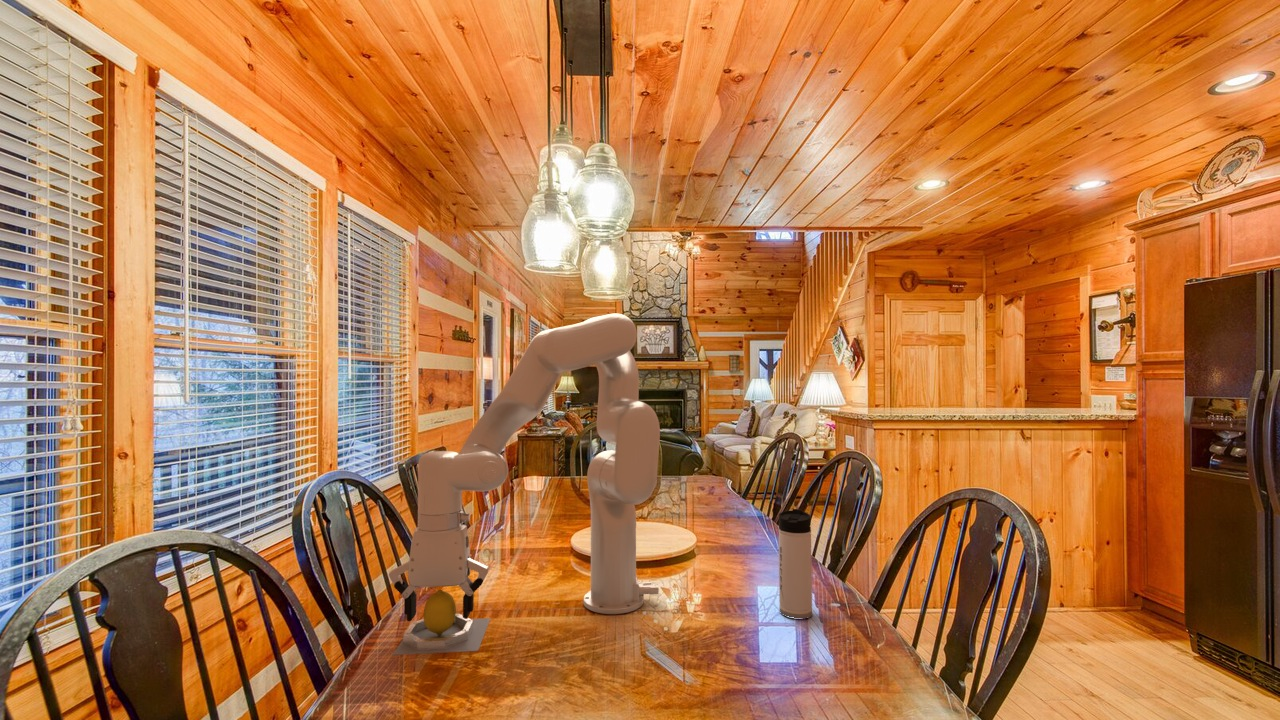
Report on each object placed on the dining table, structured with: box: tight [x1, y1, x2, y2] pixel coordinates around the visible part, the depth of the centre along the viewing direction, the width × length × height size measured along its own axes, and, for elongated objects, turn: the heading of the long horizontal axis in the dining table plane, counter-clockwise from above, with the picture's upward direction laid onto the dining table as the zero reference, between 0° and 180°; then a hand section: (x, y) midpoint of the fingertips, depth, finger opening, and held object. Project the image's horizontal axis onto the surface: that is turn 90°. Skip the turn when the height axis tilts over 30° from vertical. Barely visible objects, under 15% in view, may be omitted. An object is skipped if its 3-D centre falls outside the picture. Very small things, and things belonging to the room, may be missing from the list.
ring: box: [402, 613, 473, 651], centre depth 101 cm, size 11×11×2 cm
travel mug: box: [778, 508, 813, 618], centre depth 113 cm, size 6×7×20 cm
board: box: [392, 617, 491, 656], centre depth 101 cm, size 14×13×1 cm
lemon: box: [422, 589, 457, 635], centre depth 102 cm, size 6×6×8 cm
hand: (439, 616), depth 101 cm, fingers open, 9 cm apart
